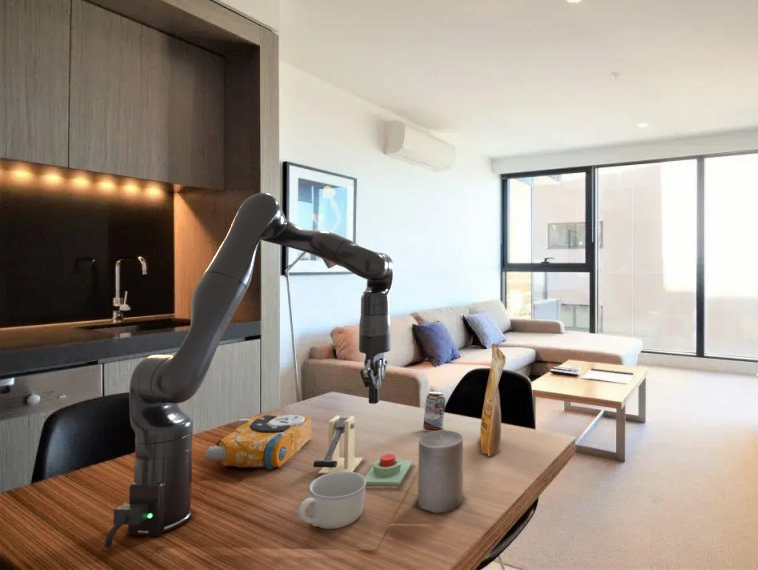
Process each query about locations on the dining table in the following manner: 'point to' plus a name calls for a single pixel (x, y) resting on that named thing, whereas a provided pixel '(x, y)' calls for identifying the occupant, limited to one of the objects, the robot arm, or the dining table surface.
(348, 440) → the lever bracket
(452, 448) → the pillar candle
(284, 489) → the dining table surface
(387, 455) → the button
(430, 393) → the beverage can
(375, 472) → the button block
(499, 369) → the pancake mix bag
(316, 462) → the press lever
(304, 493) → the dining table surface
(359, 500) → the teacup
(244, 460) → the device
